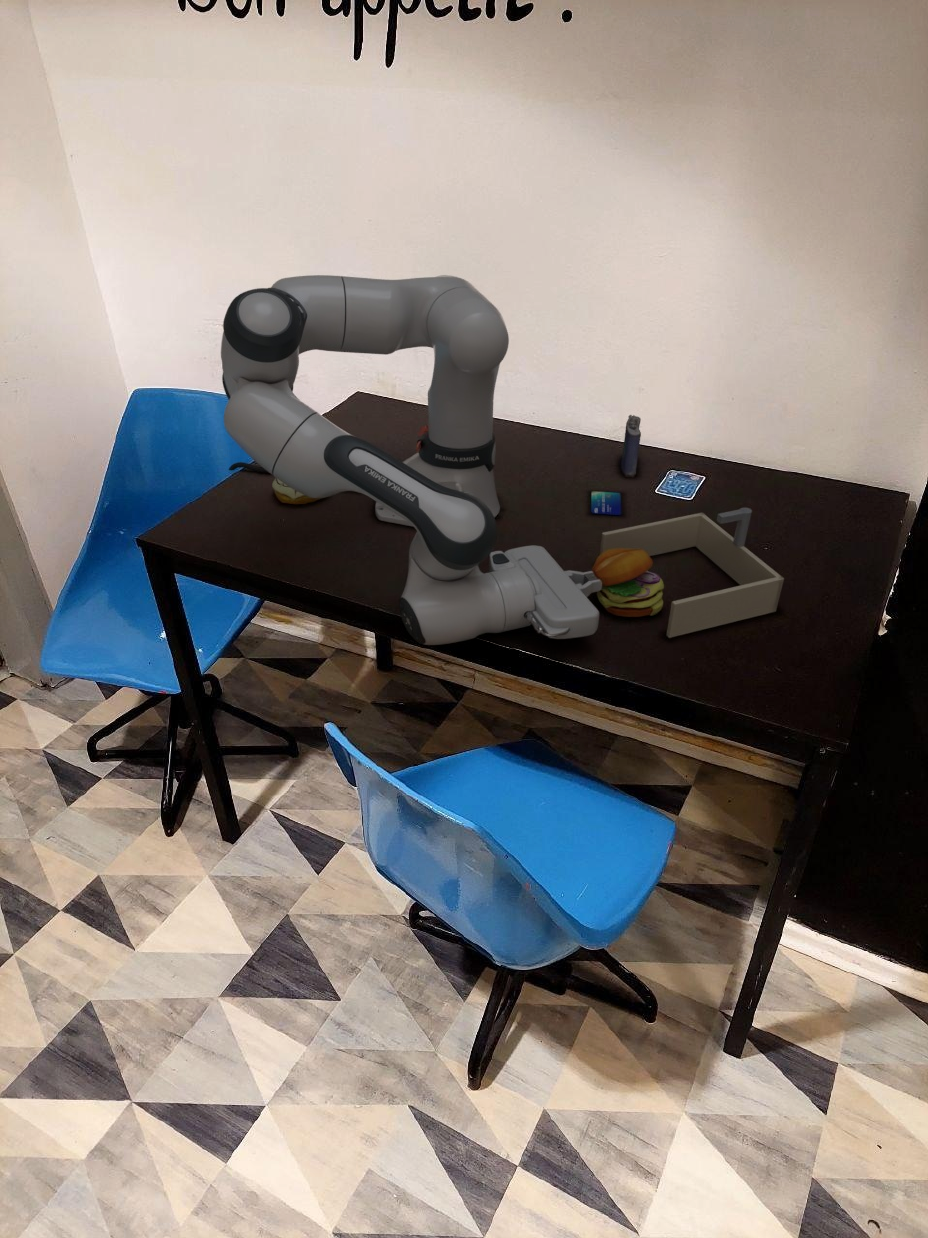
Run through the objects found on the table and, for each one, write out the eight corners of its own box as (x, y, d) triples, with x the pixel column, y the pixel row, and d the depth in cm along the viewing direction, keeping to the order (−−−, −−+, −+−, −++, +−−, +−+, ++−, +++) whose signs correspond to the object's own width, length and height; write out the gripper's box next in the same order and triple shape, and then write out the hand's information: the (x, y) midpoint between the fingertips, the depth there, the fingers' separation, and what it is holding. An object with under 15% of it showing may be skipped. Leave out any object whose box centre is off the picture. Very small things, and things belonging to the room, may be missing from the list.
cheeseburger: (645, 631, 130) (638, 571, 125) (583, 620, 136) (574, 562, 132) (676, 599, 136) (670, 541, 132) (616, 590, 143) (608, 534, 138)
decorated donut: (262, 493, 165) (260, 475, 163) (309, 475, 171) (307, 457, 169) (295, 513, 159) (293, 494, 157) (342, 493, 165) (341, 475, 163)
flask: (636, 478, 171) (642, 425, 164) (620, 477, 171) (626, 424, 165) (635, 457, 178) (641, 406, 172) (620, 456, 178) (626, 406, 172)
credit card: (621, 515, 158) (621, 514, 158) (591, 513, 159) (591, 513, 159) (620, 493, 165) (620, 492, 165) (591, 491, 166) (591, 491, 166)
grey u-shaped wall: (668, 638, 129) (680, 568, 122) (598, 564, 145) (605, 499, 138) (778, 610, 134) (796, 542, 127) (699, 542, 151) (710, 479, 144)
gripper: (543, 620, 118) (634, 600, 122) (486, 546, 134) (569, 530, 138) (541, 657, 122) (629, 636, 126) (485, 581, 138) (566, 564, 142)
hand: (597, 580), depth 132 cm, fingers closed
